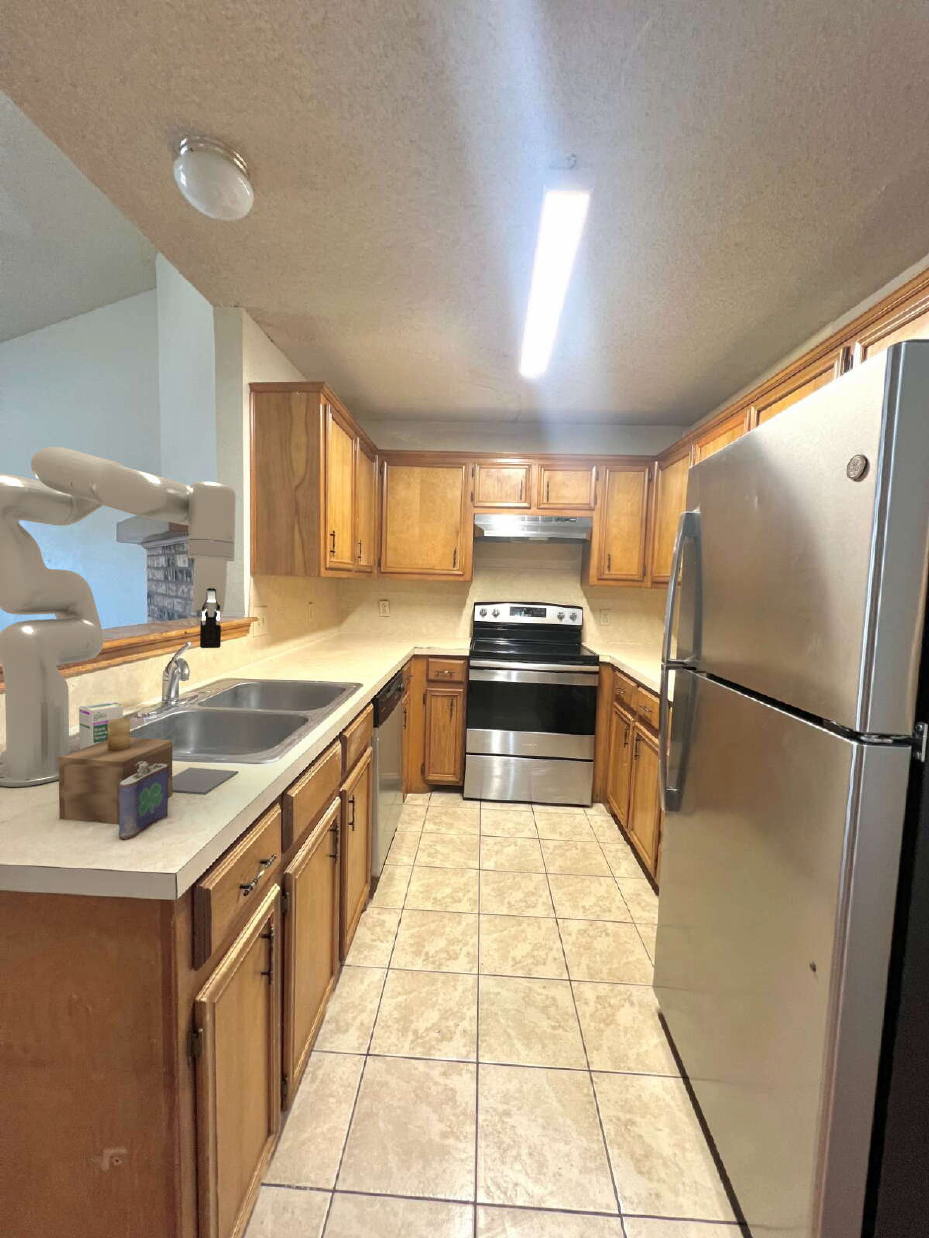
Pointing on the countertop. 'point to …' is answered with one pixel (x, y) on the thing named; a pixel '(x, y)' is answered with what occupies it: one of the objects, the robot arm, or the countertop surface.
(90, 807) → the brown block with knob
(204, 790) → the mat
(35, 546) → the robot arm
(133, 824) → the flask
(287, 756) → the countertop surface
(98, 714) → the syrup box
